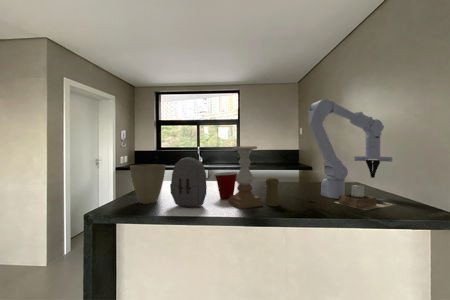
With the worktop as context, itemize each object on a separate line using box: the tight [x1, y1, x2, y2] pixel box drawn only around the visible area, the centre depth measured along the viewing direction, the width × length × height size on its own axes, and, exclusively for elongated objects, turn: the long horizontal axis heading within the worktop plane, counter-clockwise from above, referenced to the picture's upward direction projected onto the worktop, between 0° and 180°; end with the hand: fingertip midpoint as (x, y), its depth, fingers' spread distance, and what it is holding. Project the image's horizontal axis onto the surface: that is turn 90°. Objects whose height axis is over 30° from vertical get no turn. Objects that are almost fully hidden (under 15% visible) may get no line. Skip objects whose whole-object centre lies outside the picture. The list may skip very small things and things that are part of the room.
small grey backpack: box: [169, 156, 208, 208], centre depth 104 cm, size 15×8×20 cm, turn 72°
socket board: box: [333, 193, 397, 211], centre depth 103 cm, size 14×18×4 cm
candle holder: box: [227, 145, 264, 210], centre depth 107 cm, size 11×11×24 cm
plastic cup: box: [213, 171, 239, 201], centre depth 119 cm, size 11×11×12 cm
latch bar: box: [375, 197, 388, 203], centre depth 105 cm, size 9×3×1 cm, turn 25°
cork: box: [264, 177, 281, 207], centre depth 107 cm, size 6×6×11 cm
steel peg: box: [350, 184, 365, 199], centre depth 101 cm, size 4×4×7 cm
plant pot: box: [129, 163, 166, 205], centre depth 114 cm, size 15×15×16 cm
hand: (372, 177), depth 116 cm, fingers closed
